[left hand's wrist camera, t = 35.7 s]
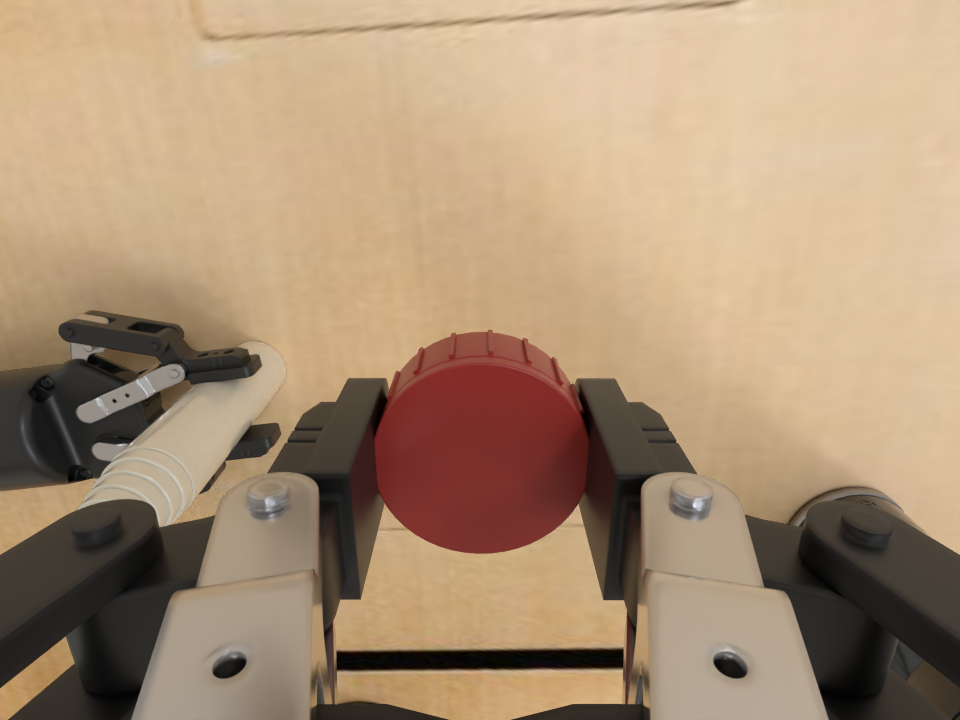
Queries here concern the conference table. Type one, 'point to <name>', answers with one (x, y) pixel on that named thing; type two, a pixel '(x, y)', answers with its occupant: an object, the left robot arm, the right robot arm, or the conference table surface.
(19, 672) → the left robot arm
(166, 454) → the bottle
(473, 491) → the cap
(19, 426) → the right robot arm
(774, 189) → the conference table surface
